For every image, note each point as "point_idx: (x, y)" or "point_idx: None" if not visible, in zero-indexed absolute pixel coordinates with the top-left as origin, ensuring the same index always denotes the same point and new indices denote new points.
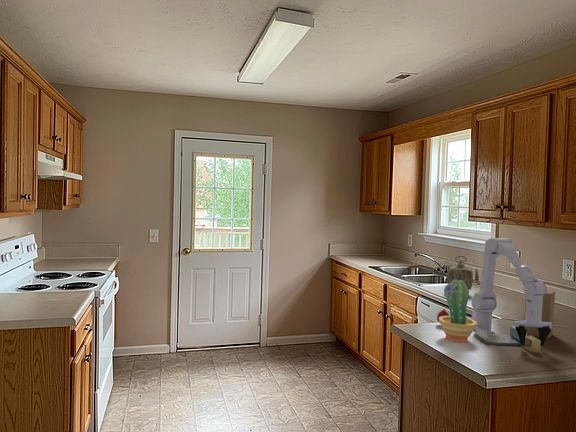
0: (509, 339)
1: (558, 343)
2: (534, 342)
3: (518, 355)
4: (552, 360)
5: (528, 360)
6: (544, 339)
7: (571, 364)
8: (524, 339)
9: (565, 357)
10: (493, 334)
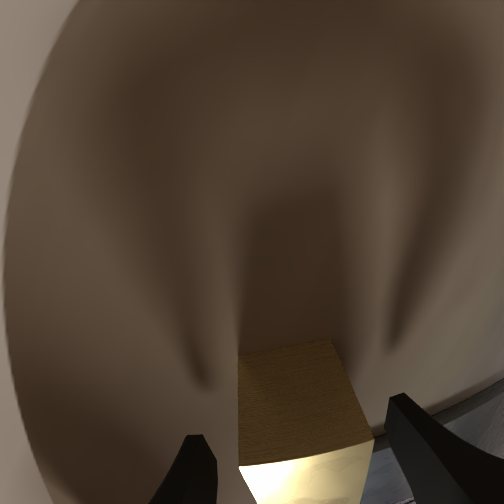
0: (365, 487)
1: (85, 489)
2: (325, 426)
3: (484, 199)
4: (186, 111)
5: (451, 65)
6: (172, 490)
7: (44, 64)
8: (430, 433)
9: (34, 277)
10: (398, 501)
